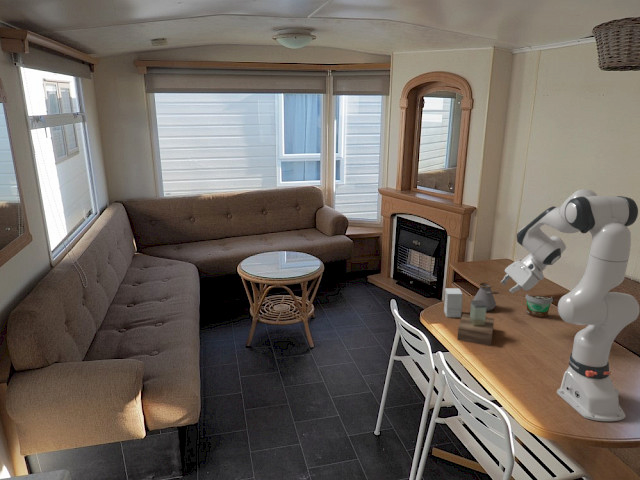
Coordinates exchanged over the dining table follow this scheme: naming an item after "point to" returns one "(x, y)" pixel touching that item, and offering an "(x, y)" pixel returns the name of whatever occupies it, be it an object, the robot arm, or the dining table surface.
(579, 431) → the dining table surface
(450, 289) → the supplement box
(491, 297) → the coffee pot
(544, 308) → the food container
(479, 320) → the sage tea tin
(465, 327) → the walnut box
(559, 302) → the robot arm
